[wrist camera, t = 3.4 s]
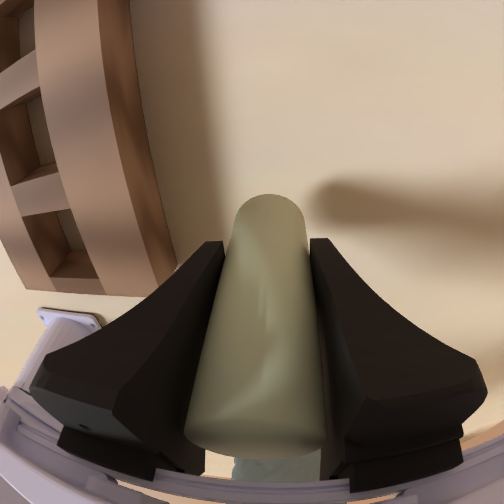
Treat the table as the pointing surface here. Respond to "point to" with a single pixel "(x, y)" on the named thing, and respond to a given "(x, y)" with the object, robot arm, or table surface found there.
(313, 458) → the green cup
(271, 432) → the sage peg
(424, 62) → the table surface
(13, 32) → the hole block
